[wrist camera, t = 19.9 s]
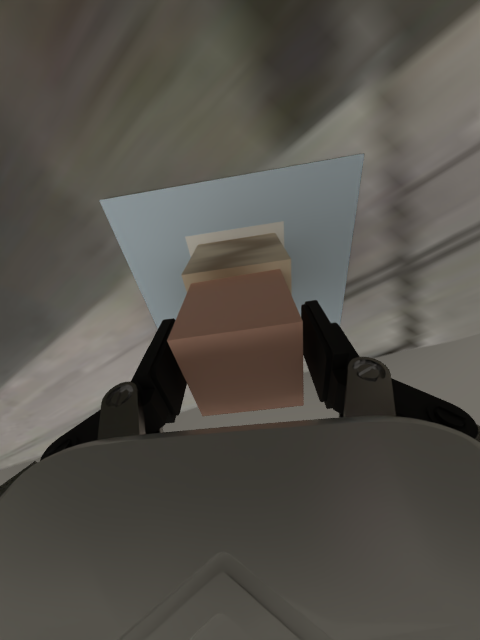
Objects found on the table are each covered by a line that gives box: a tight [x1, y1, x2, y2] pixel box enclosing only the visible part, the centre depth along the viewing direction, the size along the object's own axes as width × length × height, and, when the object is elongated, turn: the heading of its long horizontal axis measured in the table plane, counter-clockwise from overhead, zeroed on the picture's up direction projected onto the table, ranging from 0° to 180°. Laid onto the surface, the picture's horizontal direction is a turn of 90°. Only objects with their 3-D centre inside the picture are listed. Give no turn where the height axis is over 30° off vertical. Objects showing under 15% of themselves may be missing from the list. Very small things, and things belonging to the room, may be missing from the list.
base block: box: [181, 233, 292, 295], centre depth 16 cm, size 6×6×6 cm
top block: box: [167, 269, 304, 416], centre depth 11 cm, size 5×5×5 cm
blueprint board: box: [99, 154, 364, 328], centre depth 19 cm, size 18×14×1 cm
